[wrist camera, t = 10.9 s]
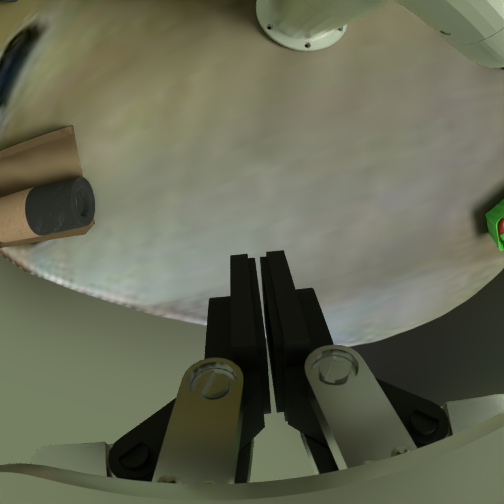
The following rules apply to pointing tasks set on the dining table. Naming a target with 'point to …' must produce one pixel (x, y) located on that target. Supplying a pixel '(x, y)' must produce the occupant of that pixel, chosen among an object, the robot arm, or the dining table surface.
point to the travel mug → (46, 209)
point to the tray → (41, 170)
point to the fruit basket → (496, 224)
